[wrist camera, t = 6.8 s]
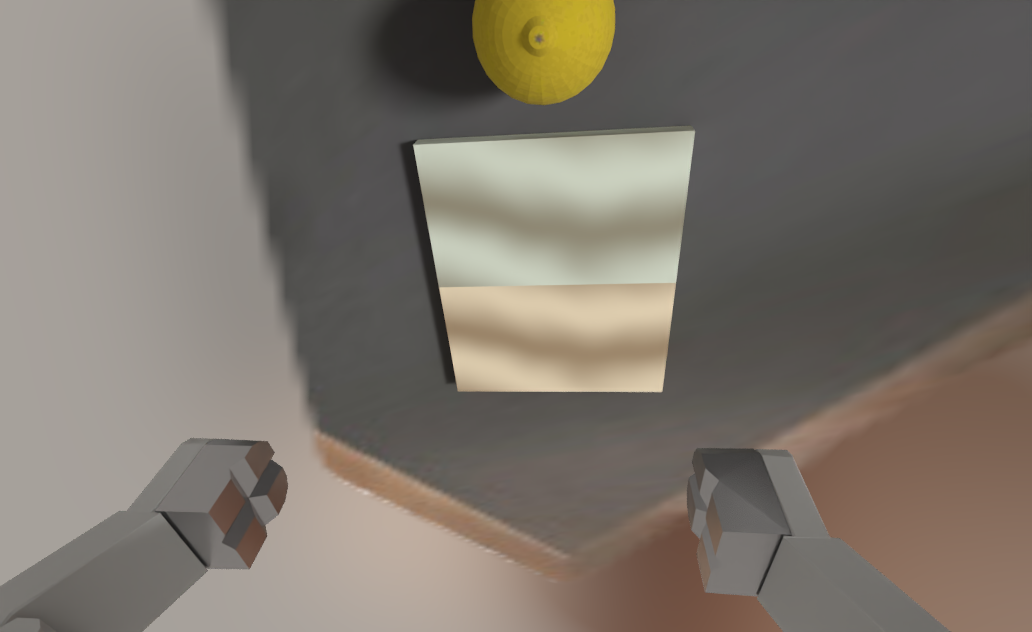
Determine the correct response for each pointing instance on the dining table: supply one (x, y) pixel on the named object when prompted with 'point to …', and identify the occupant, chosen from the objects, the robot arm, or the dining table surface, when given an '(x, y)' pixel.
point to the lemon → (543, 45)
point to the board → (557, 255)
